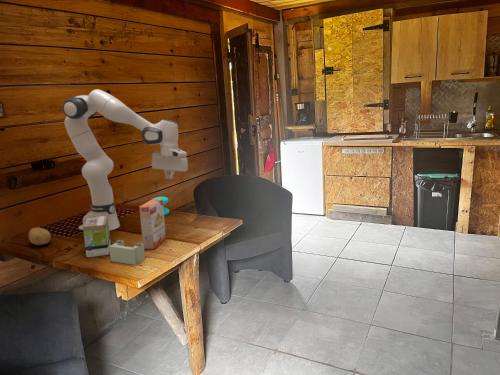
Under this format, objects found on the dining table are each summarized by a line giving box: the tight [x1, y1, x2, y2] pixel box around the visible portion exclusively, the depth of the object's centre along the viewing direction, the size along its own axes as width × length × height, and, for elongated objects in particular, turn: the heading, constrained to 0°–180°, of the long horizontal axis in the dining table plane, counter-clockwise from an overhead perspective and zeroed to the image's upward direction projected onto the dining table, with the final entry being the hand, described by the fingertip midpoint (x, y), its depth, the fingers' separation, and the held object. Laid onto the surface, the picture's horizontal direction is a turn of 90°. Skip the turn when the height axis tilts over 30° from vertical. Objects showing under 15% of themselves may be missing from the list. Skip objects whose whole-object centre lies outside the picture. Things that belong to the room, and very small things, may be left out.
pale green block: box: [109, 239, 146, 266], centre depth 171 cm, size 13×7×8 cm, turn 67°
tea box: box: [82, 216, 112, 258], centre depth 182 cm, size 15×10×15 cm, turn 17°
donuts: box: [152, 196, 170, 216], centre depth 236 cm, size 10×10×10 cm
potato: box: [28, 227, 52, 246], centre depth 194 cm, size 10×14×8 cm
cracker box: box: [139, 198, 167, 250], centre depth 186 cm, size 14×6×21 cm, turn 168°
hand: (169, 178), depth 200 cm, fingers closed
